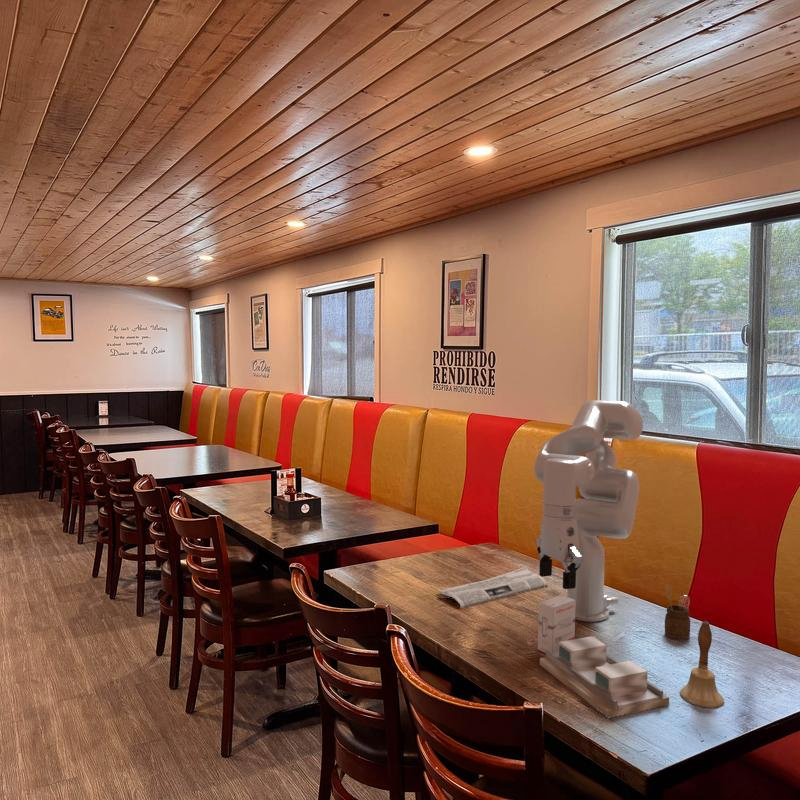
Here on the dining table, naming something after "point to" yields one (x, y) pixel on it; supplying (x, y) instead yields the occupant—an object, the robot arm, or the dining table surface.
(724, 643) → the dining table surface
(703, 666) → the hand bell
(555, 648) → the ink box
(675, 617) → the utensil holder
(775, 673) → the dining table surface
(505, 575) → the newspaper
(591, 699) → the rail board
